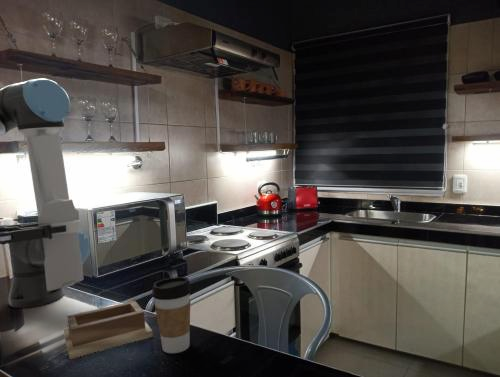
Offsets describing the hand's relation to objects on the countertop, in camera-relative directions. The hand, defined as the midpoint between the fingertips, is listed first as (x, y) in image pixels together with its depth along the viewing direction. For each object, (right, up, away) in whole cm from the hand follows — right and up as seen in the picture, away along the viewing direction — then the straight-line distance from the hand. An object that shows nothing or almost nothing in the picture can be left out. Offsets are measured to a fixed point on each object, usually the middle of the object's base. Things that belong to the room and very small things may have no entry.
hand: (78, 224), depth 104 cm
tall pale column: (-3, -16, 0) cm, 16 cm away
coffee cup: (+27, -26, -14) cm, 40 cm away
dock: (+10, -26, -7) cm, 29 cm away
